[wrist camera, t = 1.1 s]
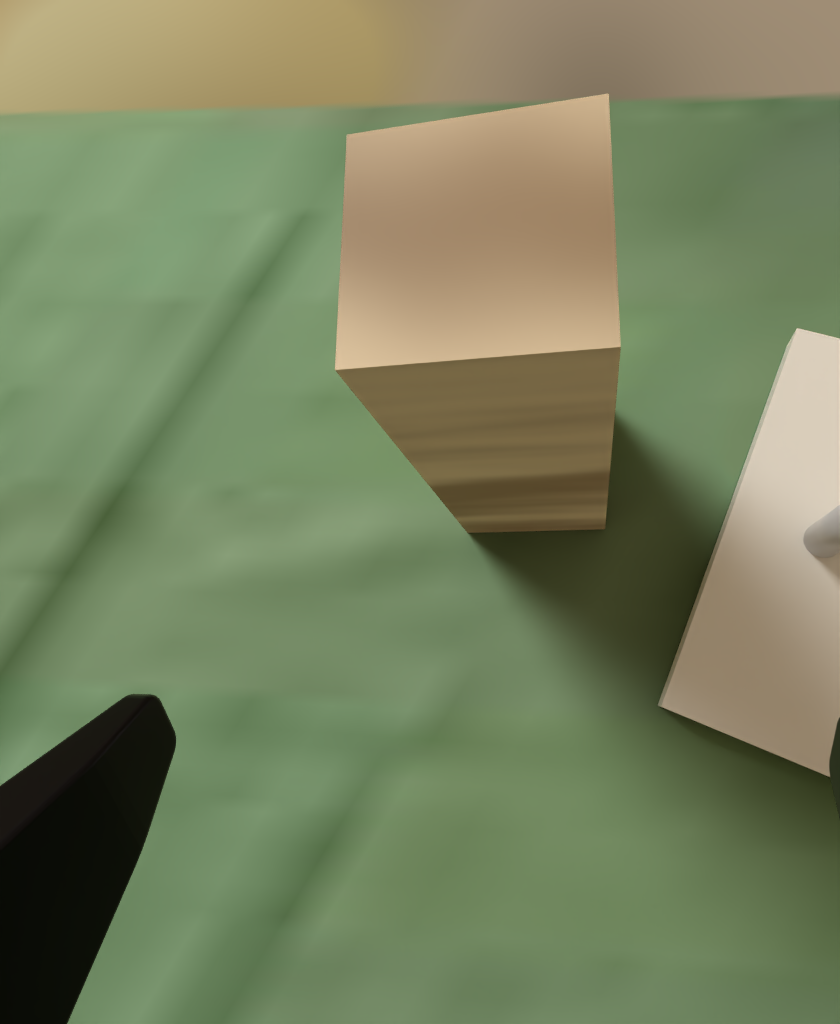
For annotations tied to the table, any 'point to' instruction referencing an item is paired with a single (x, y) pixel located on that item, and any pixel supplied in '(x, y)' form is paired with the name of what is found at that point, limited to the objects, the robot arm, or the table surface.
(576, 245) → the maple block
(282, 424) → the table surface
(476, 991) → the table surface
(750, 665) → the pin plate
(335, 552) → the table surface
